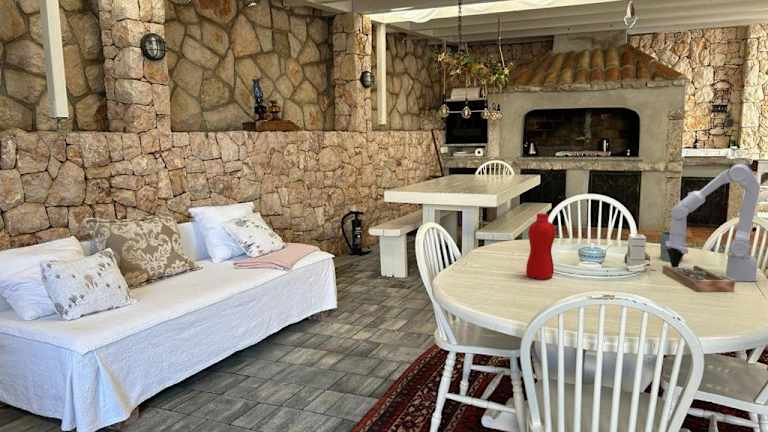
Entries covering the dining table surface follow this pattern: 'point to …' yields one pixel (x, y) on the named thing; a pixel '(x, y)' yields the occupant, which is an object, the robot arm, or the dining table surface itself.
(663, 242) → the grey cup
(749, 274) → the robot arm
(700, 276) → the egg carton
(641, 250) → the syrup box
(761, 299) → the dining table surface
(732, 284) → the bay
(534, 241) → the water bottle
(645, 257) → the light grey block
